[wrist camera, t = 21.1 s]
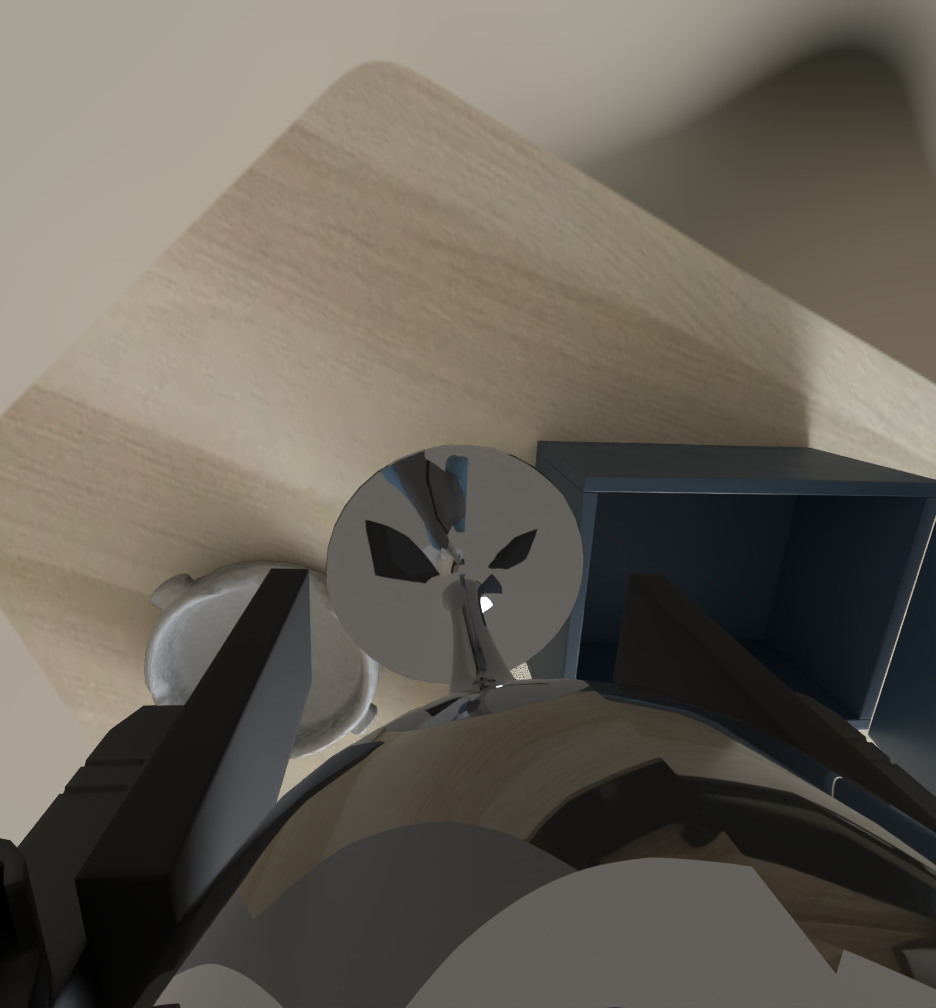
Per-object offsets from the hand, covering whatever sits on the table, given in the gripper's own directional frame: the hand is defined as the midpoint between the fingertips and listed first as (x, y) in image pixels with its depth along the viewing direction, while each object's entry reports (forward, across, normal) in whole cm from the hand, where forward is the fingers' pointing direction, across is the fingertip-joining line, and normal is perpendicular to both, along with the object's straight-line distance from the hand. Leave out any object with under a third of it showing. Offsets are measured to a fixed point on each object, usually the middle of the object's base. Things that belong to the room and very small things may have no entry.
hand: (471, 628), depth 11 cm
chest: (+23, +17, -7) cm, 30 cm away
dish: (+24, -10, -15) cm, 29 cm away
